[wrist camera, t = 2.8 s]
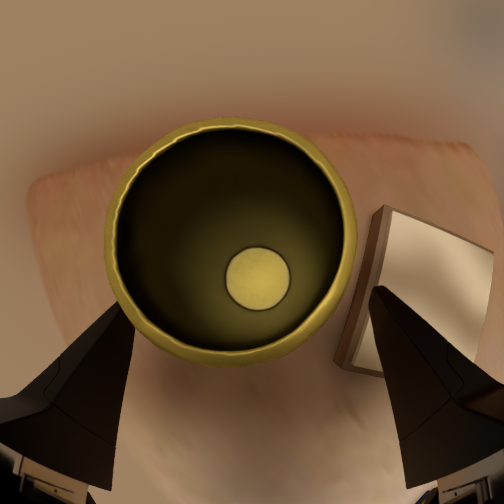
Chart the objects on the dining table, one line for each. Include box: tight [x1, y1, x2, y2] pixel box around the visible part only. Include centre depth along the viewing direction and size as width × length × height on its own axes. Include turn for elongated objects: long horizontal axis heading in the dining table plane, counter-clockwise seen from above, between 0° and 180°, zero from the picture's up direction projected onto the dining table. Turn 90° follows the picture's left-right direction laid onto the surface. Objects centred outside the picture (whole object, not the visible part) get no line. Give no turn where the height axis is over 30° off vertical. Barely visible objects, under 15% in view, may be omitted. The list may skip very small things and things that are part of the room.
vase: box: [104, 117, 358, 368], centre depth 12 cm, size 6×6×14 cm
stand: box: [334, 205, 494, 378], centre depth 16 cm, size 11×11×3 cm
